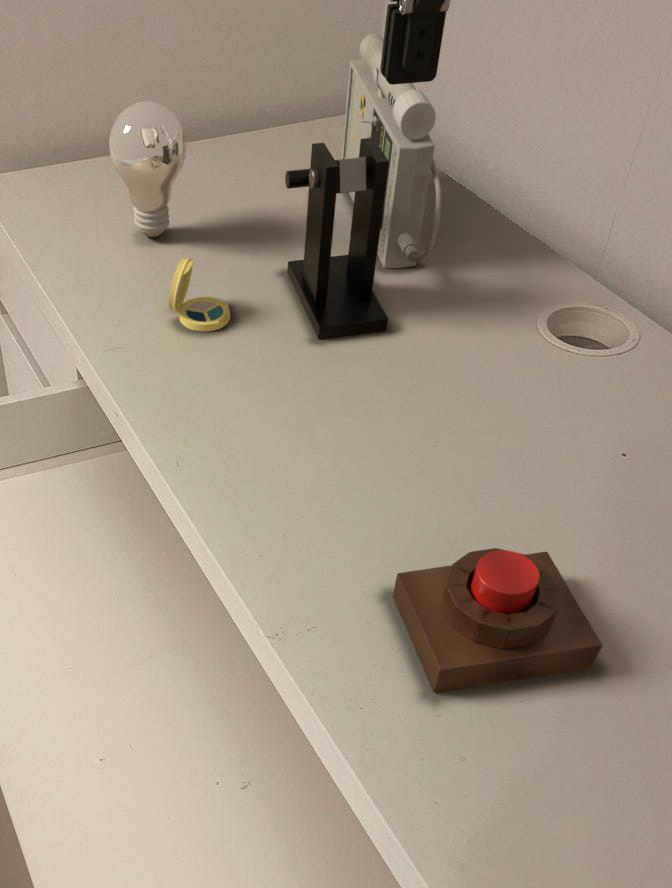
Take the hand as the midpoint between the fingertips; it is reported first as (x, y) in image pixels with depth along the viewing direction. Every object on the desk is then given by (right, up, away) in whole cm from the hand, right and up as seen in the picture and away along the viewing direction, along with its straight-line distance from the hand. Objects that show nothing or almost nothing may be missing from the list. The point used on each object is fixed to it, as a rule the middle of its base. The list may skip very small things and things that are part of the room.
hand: (407, 77), depth 62 cm
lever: (-2, +2, +20) cm, 21 cm away
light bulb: (-17, +3, +32) cm, 37 cm away
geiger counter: (+5, +4, +32) cm, 33 cm away
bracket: (-1, -6, +24) cm, 25 cm away
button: (+5, -33, -4) cm, 33 cm away
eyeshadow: (-13, -8, +23) cm, 27 cm away
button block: (+5, -35, -1) cm, 36 cm away
